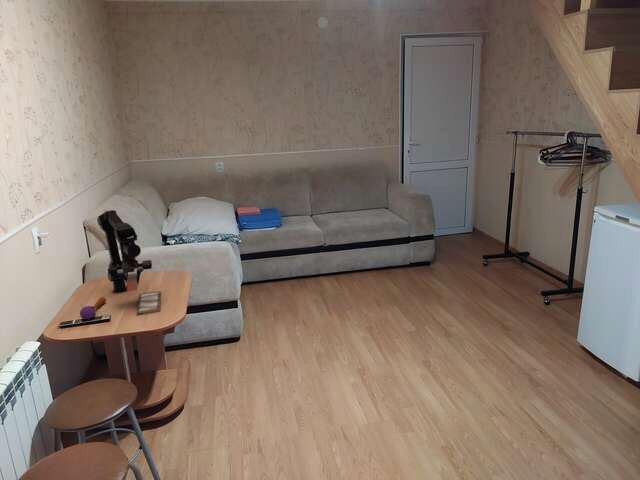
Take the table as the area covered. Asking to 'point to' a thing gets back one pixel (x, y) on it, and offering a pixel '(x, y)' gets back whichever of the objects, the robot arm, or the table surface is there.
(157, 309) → the board
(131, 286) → the red and gray block
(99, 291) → the table surface
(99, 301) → the purple maraca
